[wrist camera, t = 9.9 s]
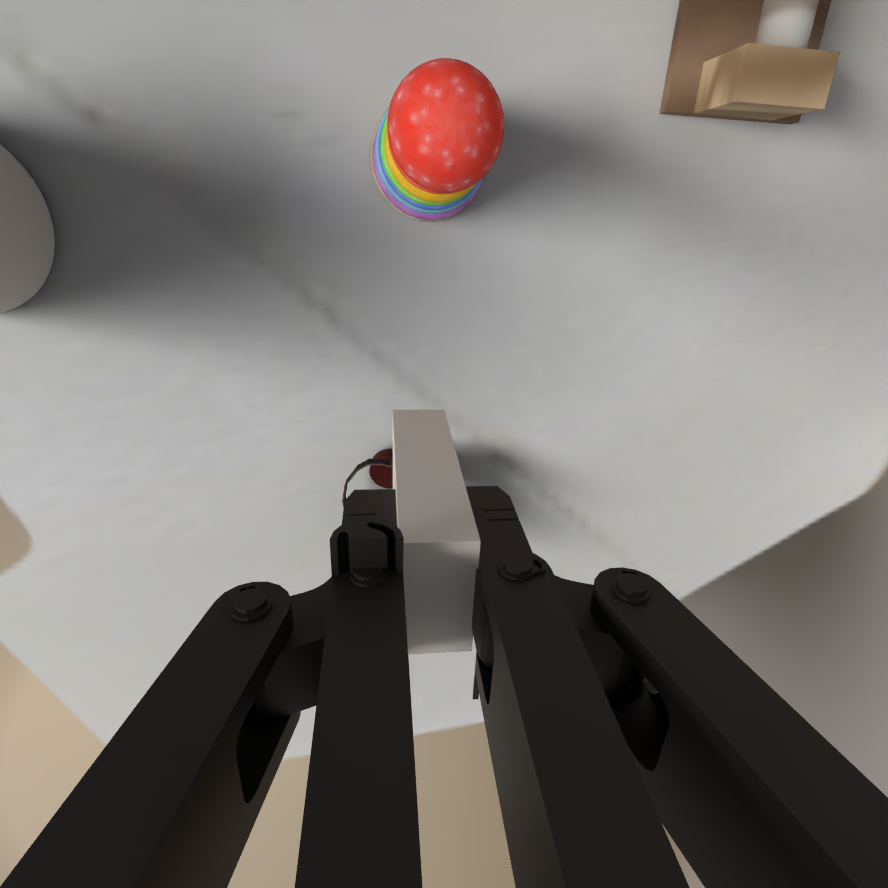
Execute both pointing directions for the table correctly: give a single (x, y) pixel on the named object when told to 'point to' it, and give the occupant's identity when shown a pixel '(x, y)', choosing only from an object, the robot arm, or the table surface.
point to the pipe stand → (749, 60)
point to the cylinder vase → (22, 234)
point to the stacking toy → (437, 140)
